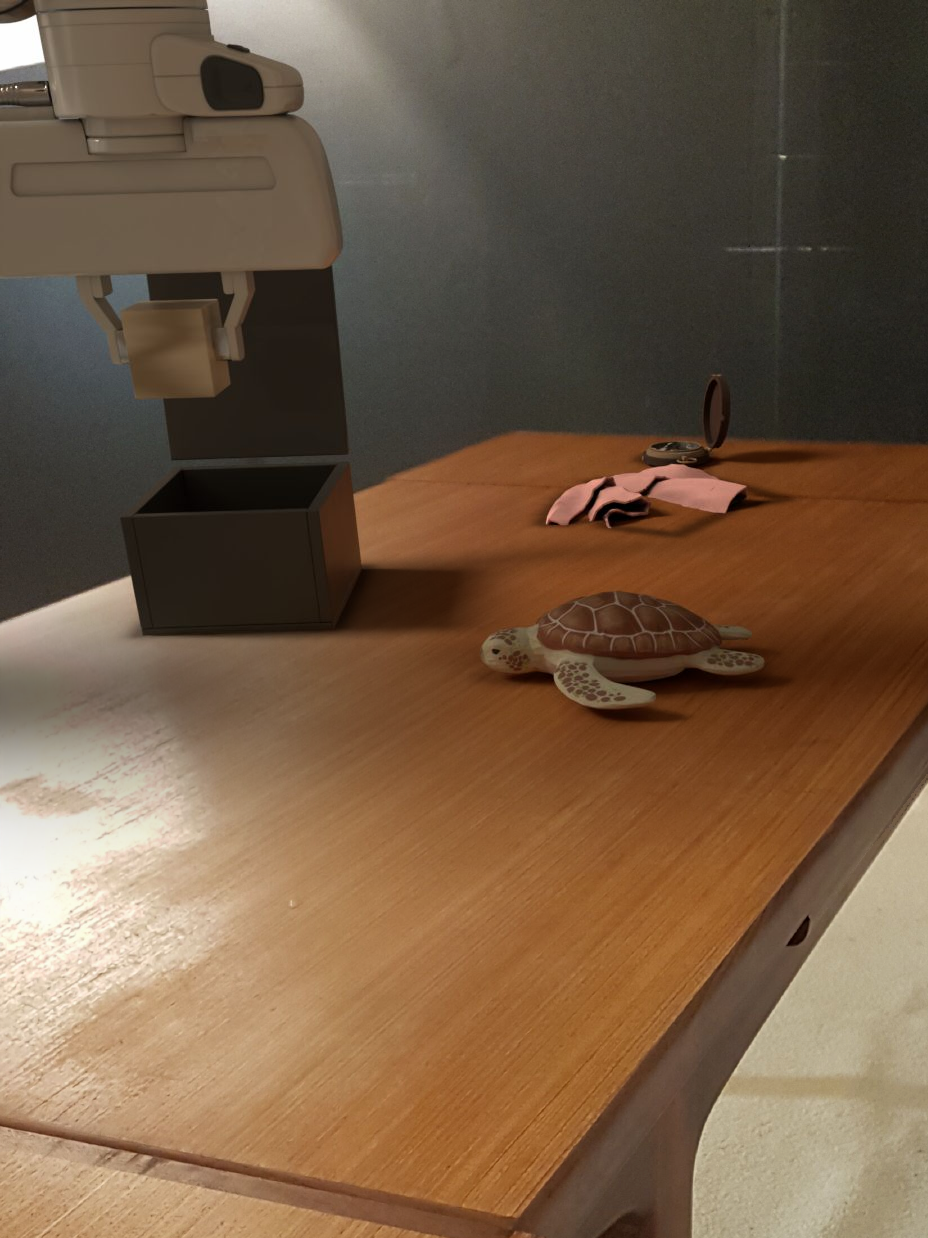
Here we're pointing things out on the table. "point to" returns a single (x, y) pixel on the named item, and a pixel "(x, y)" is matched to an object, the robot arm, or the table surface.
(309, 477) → the box
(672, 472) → the cloth
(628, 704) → the decorative turtle
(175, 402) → the box lid
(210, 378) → the block
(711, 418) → the compass
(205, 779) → the table surface
